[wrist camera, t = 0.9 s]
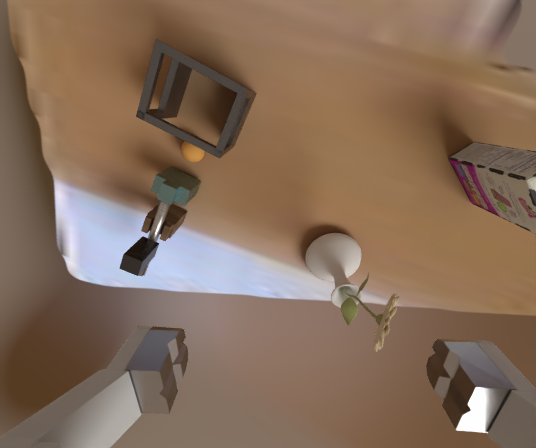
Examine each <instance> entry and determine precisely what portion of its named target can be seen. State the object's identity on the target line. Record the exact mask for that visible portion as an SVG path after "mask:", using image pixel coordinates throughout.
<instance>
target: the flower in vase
mask: <svg viewBox="0 0 536 448" xmlns="http://www.w3.org/2000/svg"><path fill="white" fill-rule="evenodd" d="M305 261H306V265H307V267H308V269H309V270H310V272H311V273H312V274H313V275H314V276H316V277H317V278H319V279H321V280H324V281H335V289H334V290H333V292H332V294H331V300H332V302H333V304H334V305H336V306H337V307H340V308H341V312H342V314H343V317H344V319H345V321H346V322H347V324H348V325H350V323H351V322H352V321H353V319H354V318H355V316H356V315H357V313H358V306H357V304H358V303H360V304H361V305H362V306H363V307H364V308H365V309H366V310H367V311H368V312H369V313H370V314H371V315H372V316H373V317H374V318H375V319H376V322H377V323H378V324H379V326H378V329H377V332H376V335H375V340H374V349H375V350H376V351H377V349H381V348H382V346H383V341H384V334H386V335H387V334H388V333H389V330H390V326H389V322H390V319H391V317H392V316H393V315H394V314H395V312H396V309H397V307H395V305H396V303H397V301H398V300H399V296H398V297H396V295H397V294H393V295H392V296H391V298H390V299H389V301H388V303H387V305H386V307H385V310H384V312H383V314H380V315H377V316H375V315H374V314H373V313H372V312H371V311H370V310H369V309H368V308H367V307H366V306H365V305H364V304H363V303H362V302H361V299H362V292H361V290H362V289H363V288H364V286H365V284H366V283H367V281H368V277H369V273H368V277H367V279H366V280H365V281H364V282H363V283H362V285H361V286H360V288H358V287H357V286H355V285H353V284H350V282H349V281H348V279H347V278H348V277H349V276H351V275H352V274H353V273H354V272H355V271H356V270H357V268H358V267H359V264H360V261H361V249H360V247H359V245H358V243H357V242H356V241H355V240H354V239H353V238H351V237H350V236H348V235H345V234H341V233H329V234H325V235H323V236H320V237H319V238H317V239H316V240H314V241H313V242H312V243H311V244H310V246H309V247H308V249H307V252H306V256H305ZM378 344H379V345H378Z"/></svg>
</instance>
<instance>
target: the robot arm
mask: <svg viewBox="0 0 536 448" xmlns="http://www.w3.org/2000/svg"><path fill="white" fill-rule="evenodd" d="M185 337H186V336H185V331H184V329H181V328H166V327H148V326H138V327H136V328H135V329H134V330H133V331H132V332H131V334H130V335H129V337H128V338H127V340H126V341H125V342H124V344H123V345H122V347H121V348H120V350H119V351H118V353H117V354H116V356H115V357H114V358H113V360H112V361H111V363H110V364H109V366H108V367H107V368H106V370H100V371H98V372H97V373H95V374H94V375H92V376H91V377H89V378H88V379H86V380H85V381H83V382H82V383H80V384H79V385H77V386H76V387H74V388H73V389H71V390H70V391H68V392H67V393H65V394H64V395H63V396H61V397H59V398H58V399H56V400H55V401H53V402H52V403H50V404H49V405H48V406H46V407H44V408H43V409H41V410H40V411H38V412H37V413H35V414H34V415H32V416H31V417H29V418H28V419H27V420H25V421H24V422H22V423H20V424H19V425H18V426H16V427H14V428H13V429H11V430H10V431H9V432H7V433H6V434H4V435H3V436H1V437H0V448H110V447H111V446H112V445H113V444H114V443H115V442H116V441H117V440H118V439H119V438H120V437H121V436H122V435H123V434H124V432H125V431H126V430H127V429H128V428H129V427H130V426H131V425H132V424H133V423H134V422H135V421H136V420H137V419H138V418H139V417H140V416H141V413H166V414H168V413H170V411H171V408H172V405H173V403H174V400H175V398H176V395H177V392H178V390H177V383H178V382H179V381H180V380H181V379H182V378H183V376H184V373H185V371H186V366H187V362H188V349H187V346H186V345H185V344H184V343H183V342H184V339H185ZM432 348H433V350H434V352H435V353H434V354H433V355H432V356H430V357H429V358H428V361H427V365H426V368H427V376H428V379H429V382H430V384H431V386H432V388H433V390H434V391H435V392H436V393H438V394H439V395H440V396H441V397H442V398H443V403H442V406H443V408H444V410H445V412H446V413H447V415H448V417H449V419H450V420H451V422H452V424H453V426H454V428H455V430H461V431H473V432H485V433H488V434H487V435H488V436H489V437H490V438H491V439H492V440H493V441H494V442H496V443H497V444H498V445H499V446H500V447H501V448H536V389H535V388H534V387H533V386H532V385H531V383H529V381H528V380H527V379H526V378H525V377H524V376H523V375H522V374H521V373H520V372H519V370H518V369H517V368H516V367H515V366H514V365H513V364H512V363H511V362H510V361H509V360H508V358H507V357H506V356H505V355H504V354H503V353H502V352H501V351H500V350H499V349H498V348H497V347H496V346H495V345H494V344H493V343H492V342H490V341H483V340H455V339H454V340H453V339H437V340H436V341H435V342H434V344H433V346H432Z"/></svg>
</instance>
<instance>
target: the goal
mask: <svg viewBox="0 0 536 448" xmlns="http://www.w3.org/2000/svg"><path fill="white" fill-rule="evenodd" d="M164 54H166V55H168V56H170V57H171V58H172V61H171V65H170V68H169V72H168V75H167V79H166V82H165V86H164V89H163V93H162V96H161V100H160V103H159V107H158V109H149V108H150V104H151V101H152V97H153V93H154V90H155V86H156V82H157V79H158V75H159V71H160V68H161V64H162V60H163V57H164ZM192 69H194V70H195V71H197V72H199V73H201V74H203V75H205V76H206V77H208V78H210V79H212V80H214V81H216V82H218V83H219V84H221V85H223V86H225V87H227V88H229V89H230V90H232V91H234V92H236V93H238V94H237V96H236V99H235V101H234V104H233V106H232V109H231V111H230V114H229V116H228V119H227V121H226V124H225V126H224V129H223V131H222V134H221V136H220V139H219V141H218V144H217V146H214V145H213V144H211V143H209V142H207V141H205V140H203V139H201V138H199V137H197V136H195V135H193V134H191V133H189V132H187V131H185V130H183V129H181V128H179V127H177V126H175V125H173V124H171V123H169V122H167V121H165V120H163V118H173V117H177V114H178V111H179V108H180V105H181V102H182V99H183V95H184V92H185V89H186V86H187V83H188V80H189V77H190V73H191V70H192ZM255 96H256V93H254V92H252V91H250V90H249V89H247V88H245V87H243V86H241V85H239V84H238V83H236V82H234V81H232V80H230V79H229V78H227V77H225V76H223V75H221V74H219V73H218V72H216V71H214V70H212V69H210V68H209V67H207V66H205V65H203V64H201V63H199V62H198V61H196V60H194V59H192V58H190V57H188V56H187V55H185V54H183V53H181V52H179V51H177V50H176V49H174V48H172V47H170V46H168V45H166V44H165V43H163V42H161V41H159V40H157V39H156V41H155V45H154V49H153V52H152V56H151V60H150V64H149V68H148V72H147V76H146V80H145V84H144V88H143V92H142V96H141V100H140V103H139V107H138V111H137V115H136V117H138V118H140V119H142V120H144V121H146V122H148V123H150V124H152V125H154V126H156V127H158V128H160V129H162V130H164V131H166V132H168V133H170V134H172V135H174V136H176V137H178V138H180V139H182V140H184V141H186V142H188V143H190V144H192V145H194V146H196V147H198V148H200V149H202V150H204V151H206V152H208V153H210V154H212V155H214V156H216V157H218V158H221V157H222V156H223V155H224V154H226V153H227V152H228V151H229V150H230V149H232V148H233V147H234V145H235V143H236V141H237V138H238V136H239V134H240V131H241V129H242V127H243V124H244V122H245V120H246V117H247V115H248V113H249V110H250V108H251V105H252V103H253V101H254V98H255Z"/></svg>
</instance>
